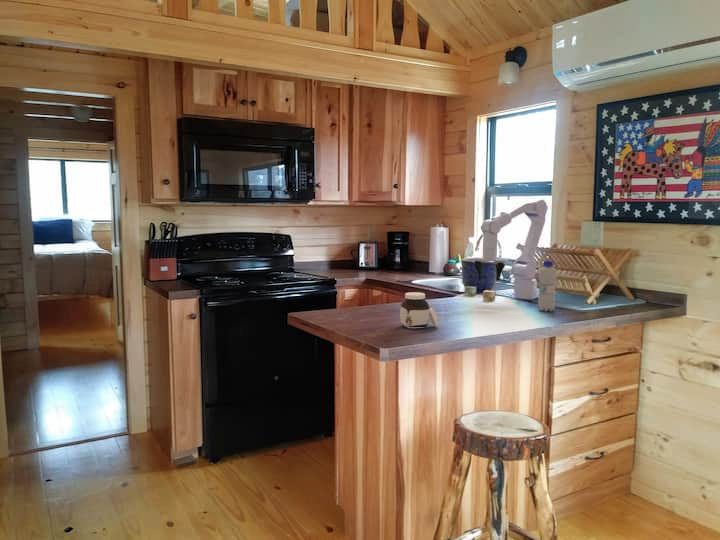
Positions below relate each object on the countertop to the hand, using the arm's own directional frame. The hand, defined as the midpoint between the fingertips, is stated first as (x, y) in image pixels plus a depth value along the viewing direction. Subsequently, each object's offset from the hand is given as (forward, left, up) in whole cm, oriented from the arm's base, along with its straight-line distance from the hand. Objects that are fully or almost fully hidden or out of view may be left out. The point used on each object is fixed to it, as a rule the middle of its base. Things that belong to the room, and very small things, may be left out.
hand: (489, 279), depth 248 cm
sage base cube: (+11, -7, -9) cm, 16 cm away
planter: (+13, -24, -10) cm, 29 cm away
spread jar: (+4, +61, -10) cm, 62 cm away
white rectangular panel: (+6, -4, -9) cm, 12 cm away
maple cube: (0, 0, -9) cm, 9 cm away
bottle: (-26, +8, -10) cm, 29 cm away
